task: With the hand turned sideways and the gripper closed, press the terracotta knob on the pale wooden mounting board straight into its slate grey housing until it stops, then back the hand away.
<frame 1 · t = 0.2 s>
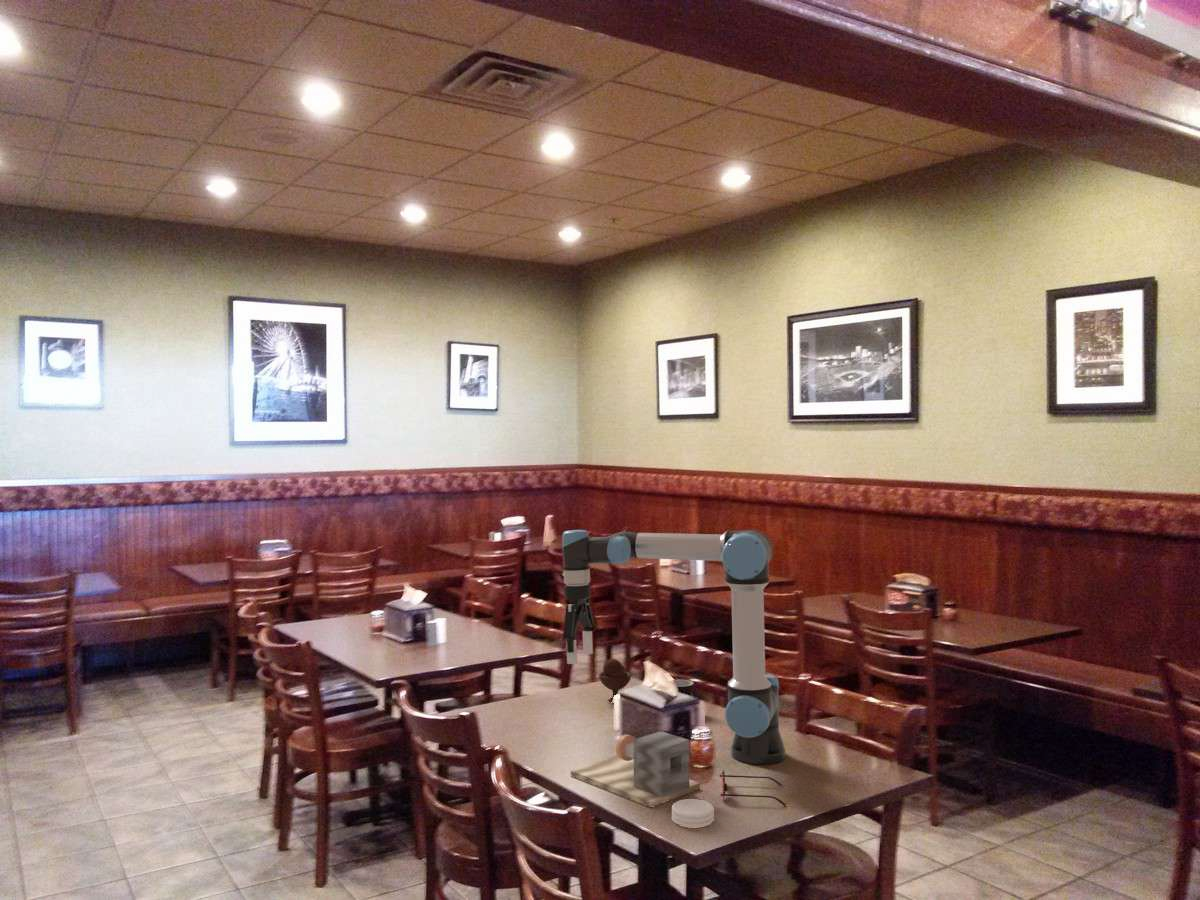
hand: (580, 658, 263), 27 cm above the table, tool pointing down, fingers open, 13 cm apart
coffee mug: (683, 712, 304), on the table
glasses: (752, 797, 233), on the table
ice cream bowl: (615, 702, 316), on the table
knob: (643, 753, 238), point 9 cm above the table, slide at 0.0 cm
coaster: (692, 821, 217), on the table
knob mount: (633, 782, 241), on the table
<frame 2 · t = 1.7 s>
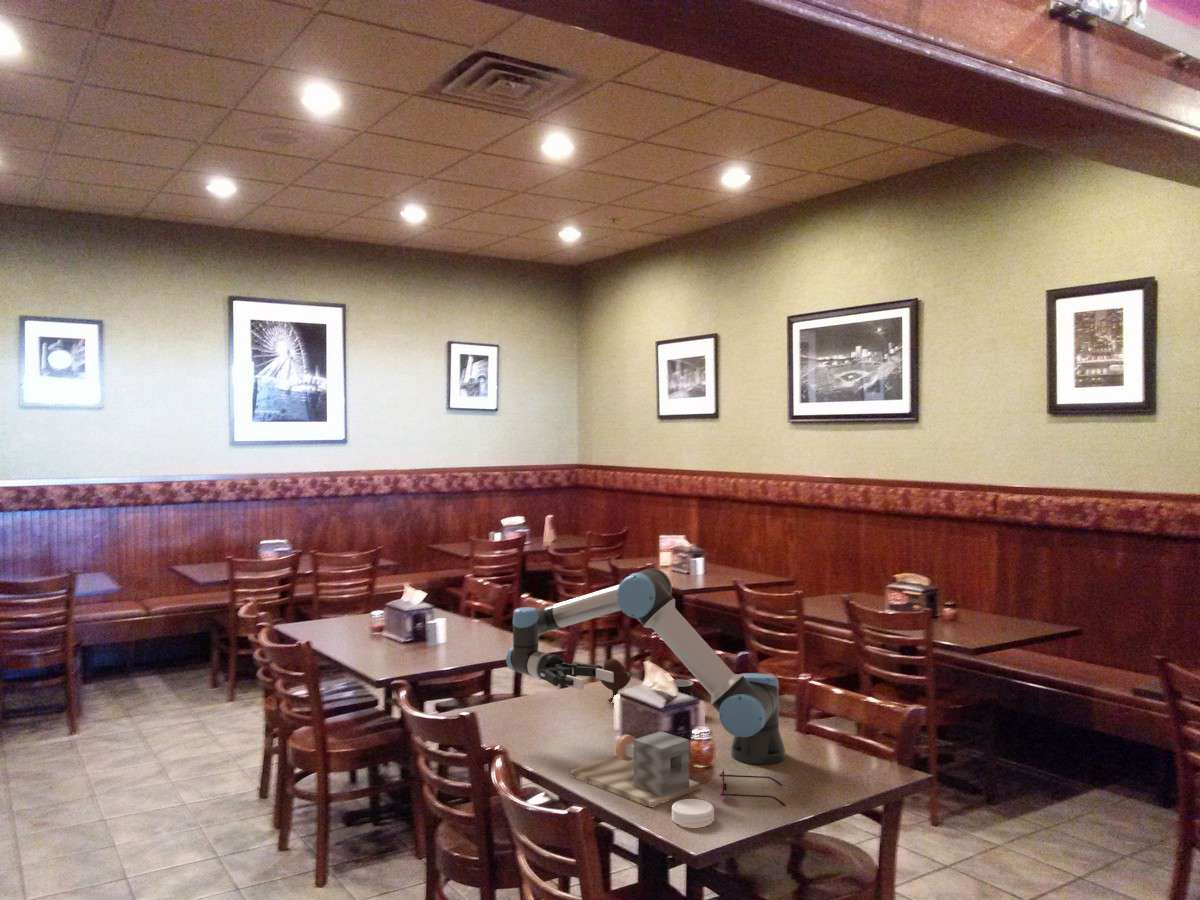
hand: (597, 681, 251), 24 cm above the table, tool horizontal, fingers open, 10 cm apart
nothing on the table moved.
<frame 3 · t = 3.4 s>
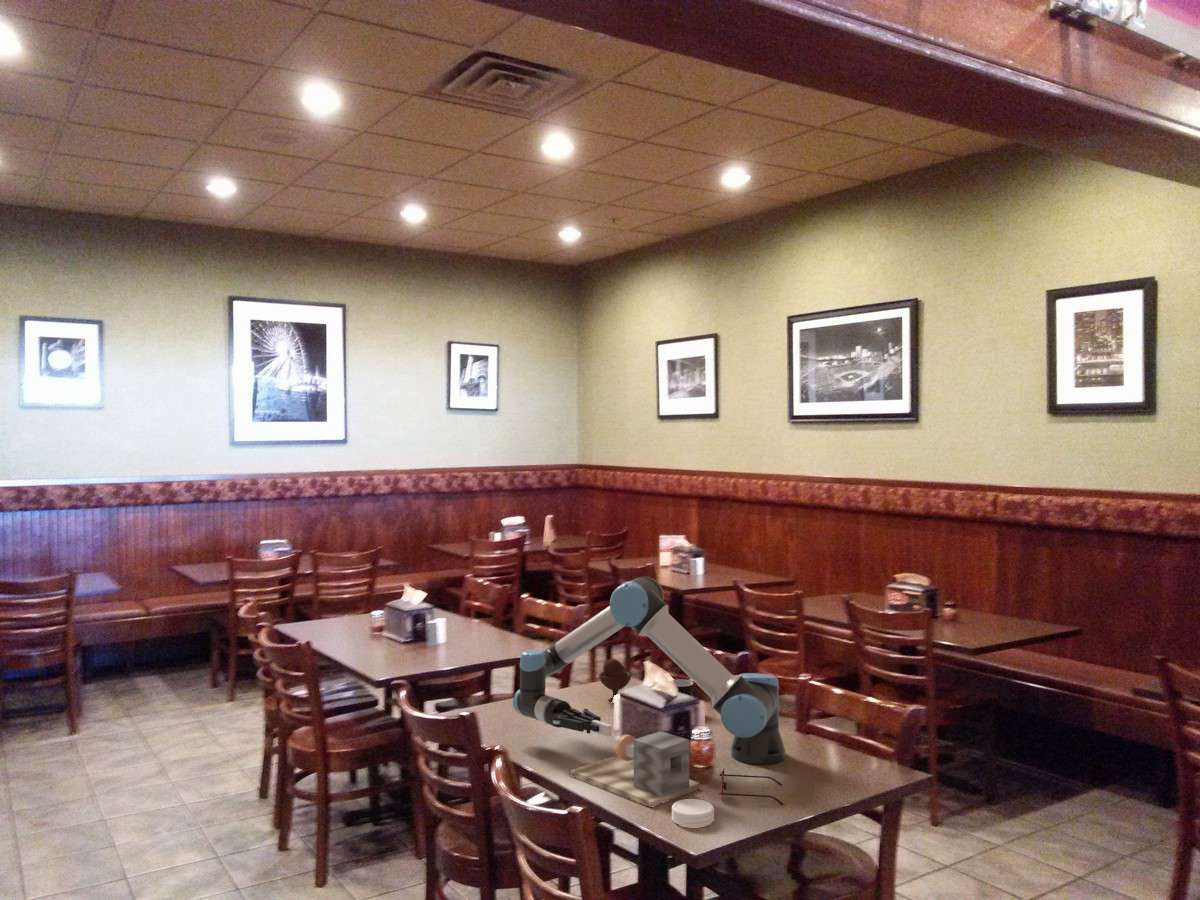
hand: (609, 730, 248), 12 cm above the table, tool horizontal, fingers closed
nothing on the table moved.
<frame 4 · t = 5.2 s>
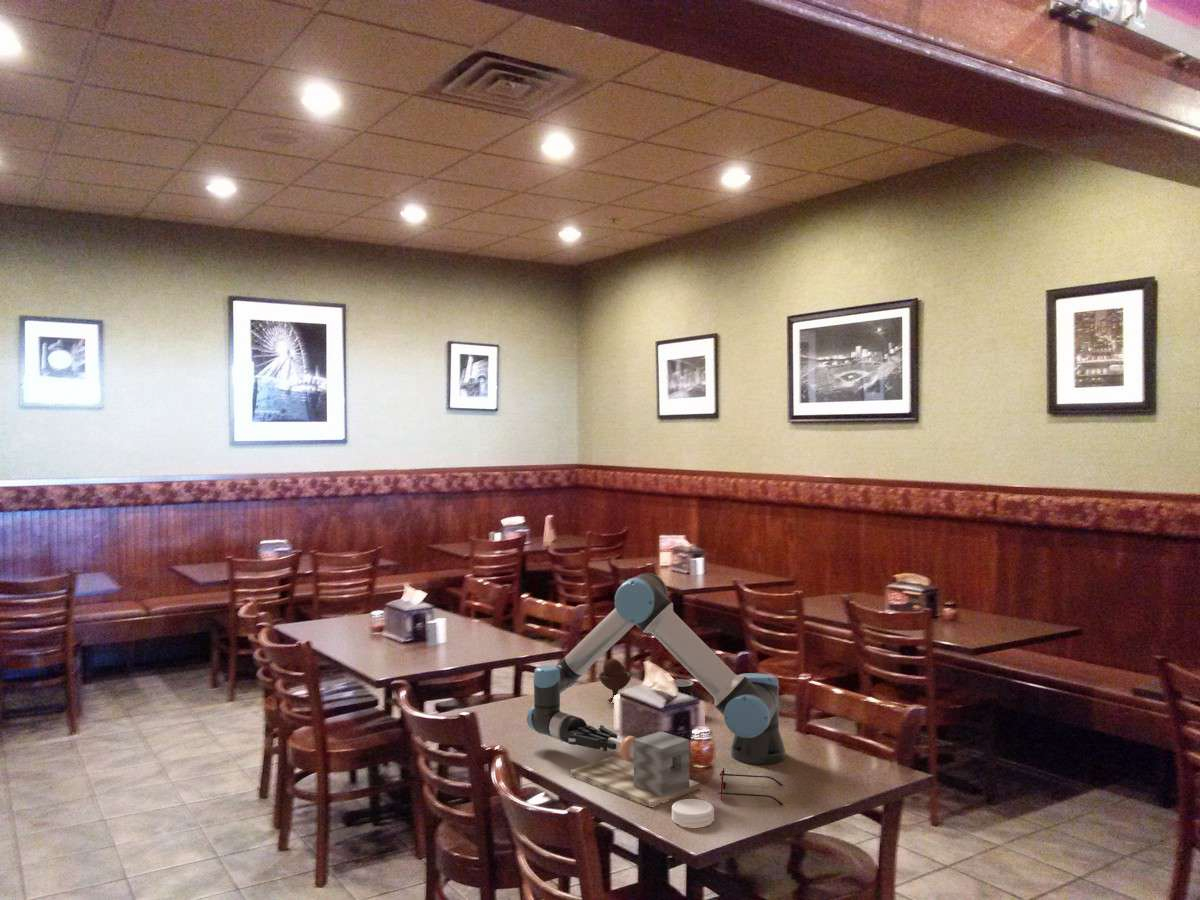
hand: (626, 748, 243), 8 cm above the table, tool horizontal, fingers closed
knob: (647, 754, 237), point 9 cm above the table, slide at 1.4 cm, touching gripper
everything else where it was.
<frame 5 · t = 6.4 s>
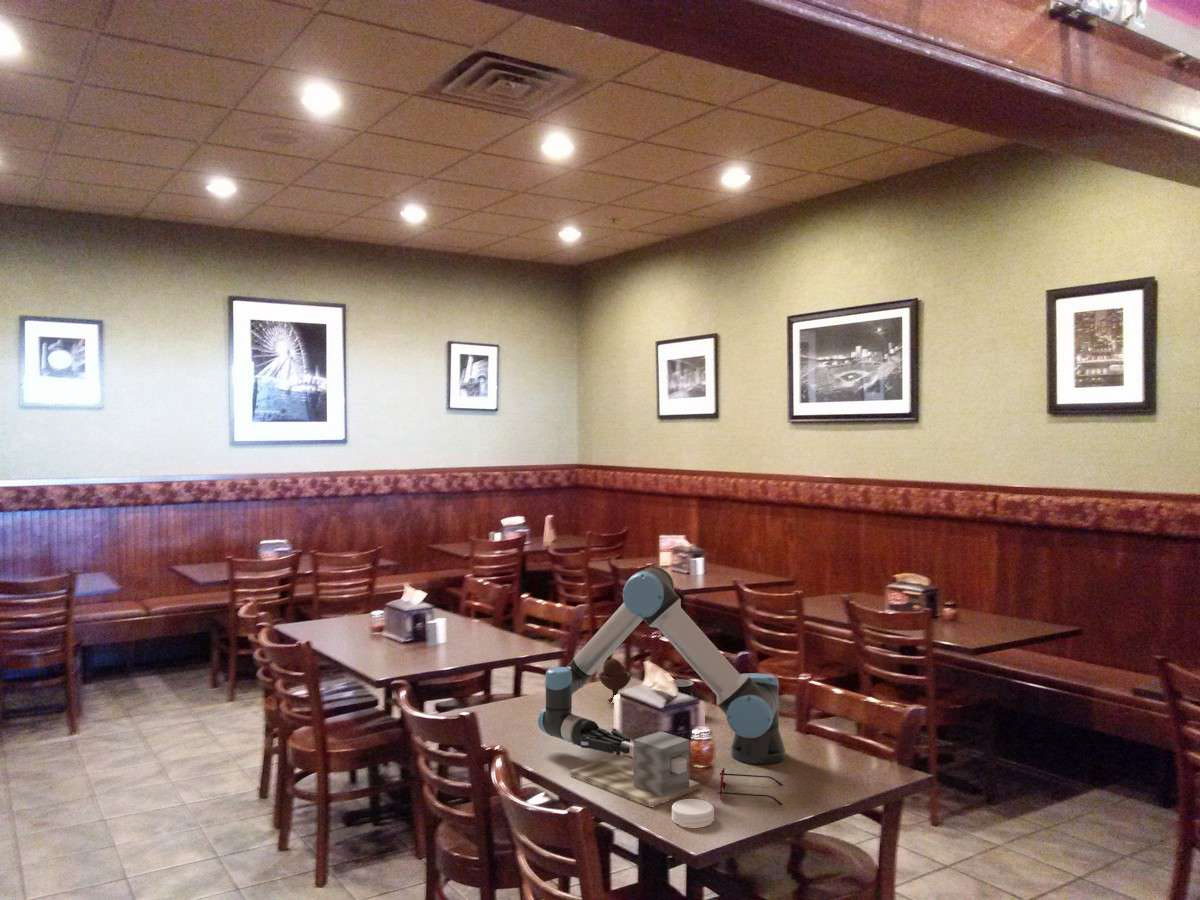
hand: (640, 752, 239), 8 cm above the table, tool horizontal, fingers closed
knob: (661, 759, 234), point 9 cm above the table, slide at 6.3 cm, touching gripper
everything else where it was.
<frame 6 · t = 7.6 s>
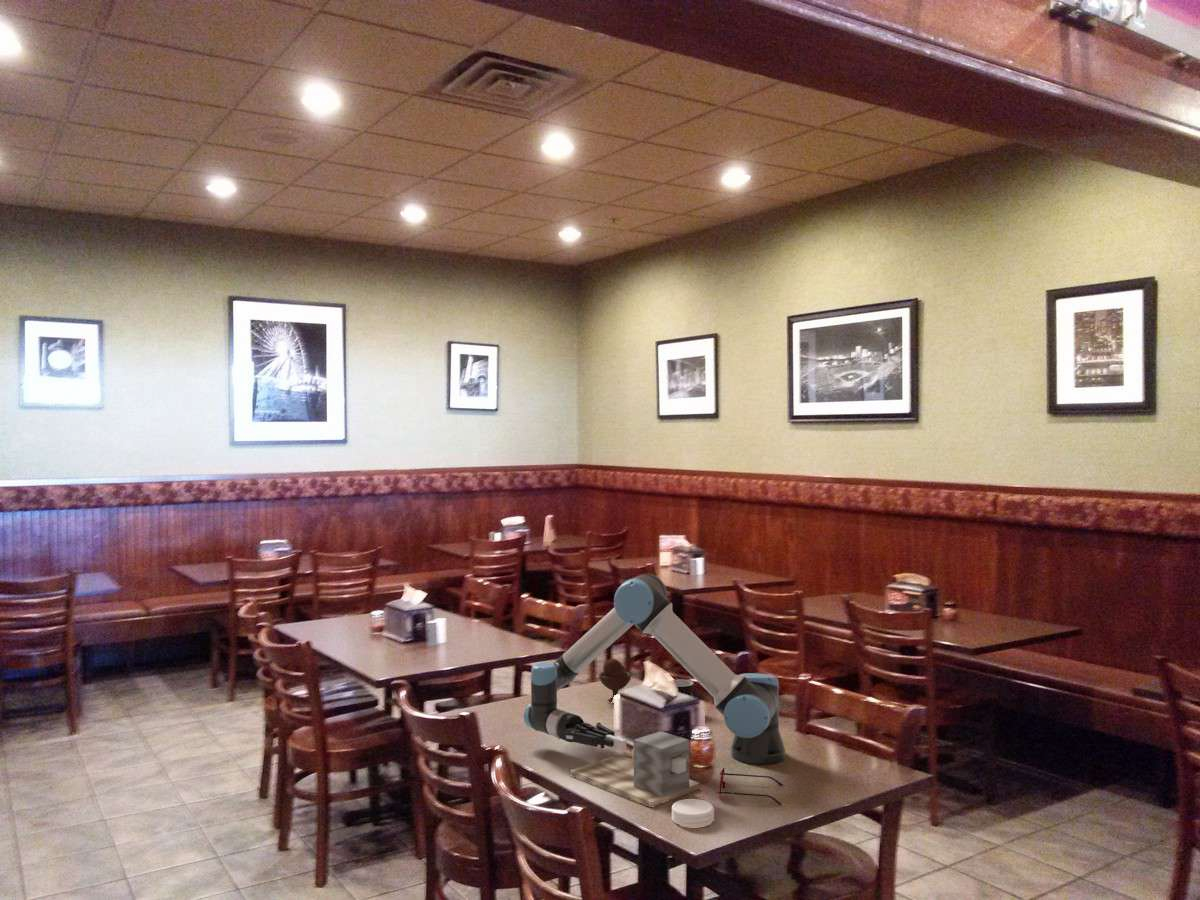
hand: (624, 745, 244), 9 cm above the table, tool horizontal, fingers closed
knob: (660, 759, 234), point 9 cm above the table, slide at 6.0 cm
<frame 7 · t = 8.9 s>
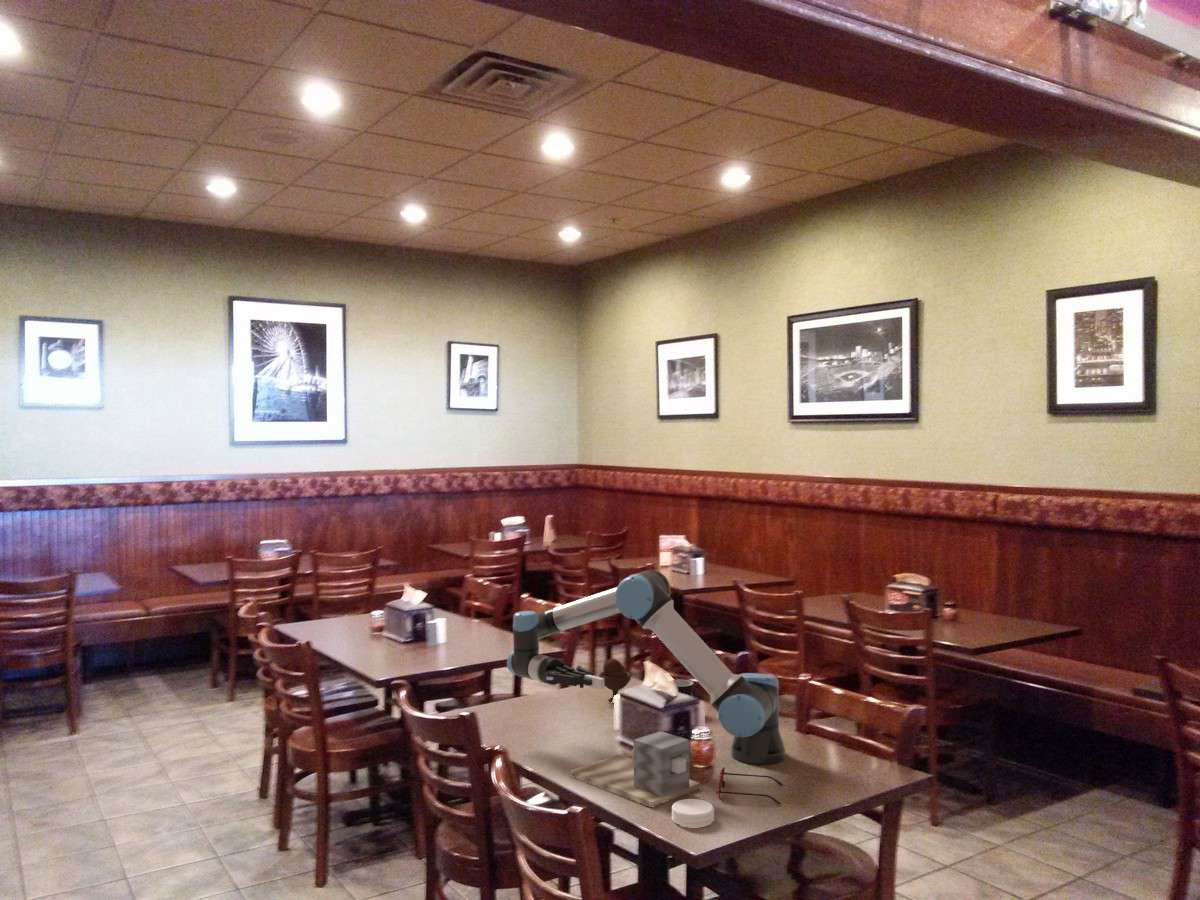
hand: (602, 683, 251), 23 cm above the table, tool horizontal, fingers closed
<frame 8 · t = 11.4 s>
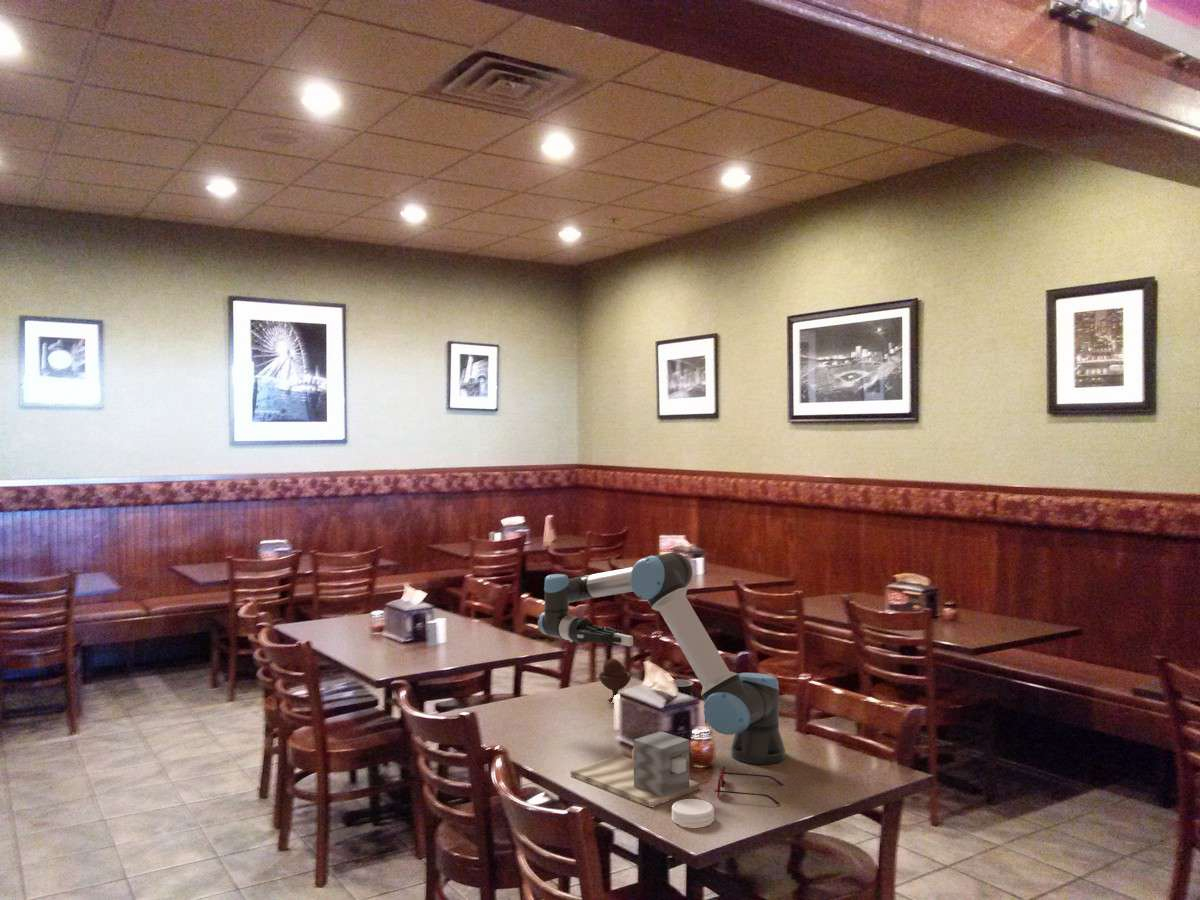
hand: (631, 641, 264), 32 cm above the table, tool horizontal, fingers closed
at the end: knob slide at 6.0 cm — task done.
